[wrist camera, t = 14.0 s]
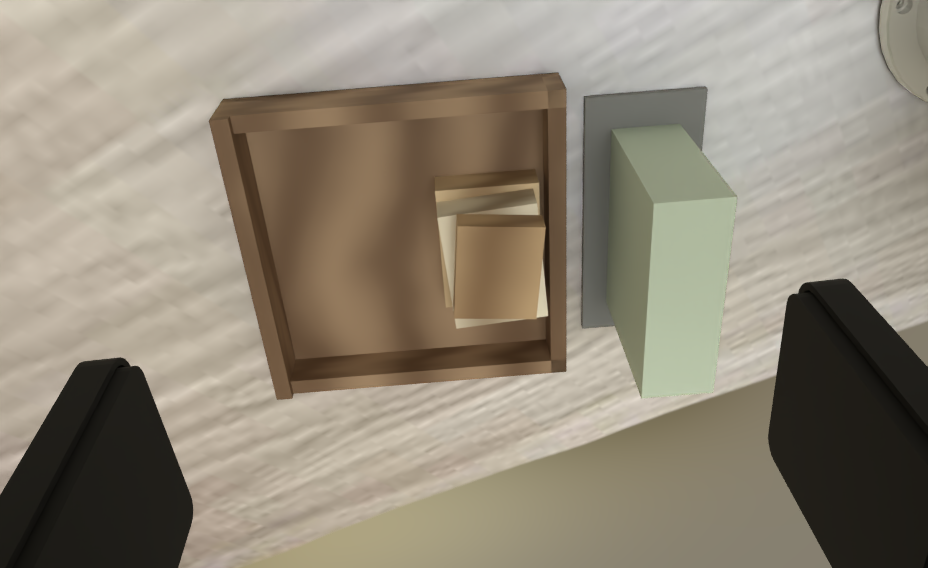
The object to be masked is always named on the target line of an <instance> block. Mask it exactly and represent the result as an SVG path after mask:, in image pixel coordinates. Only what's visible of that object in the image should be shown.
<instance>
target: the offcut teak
mask: <svg viewBox="0 0 928 568" xmlns="http://www.w3.org/2000/svg"><path fill="white" fill-rule="evenodd" d="M545 230H546V227H545V223H544V220H543V216H542V215H495V214H456V241H455V269H454V296H453V310H454V319H536V318H537V308H538V298H539V289H540V279H541V269H542V259H543V250H544V240H545Z"/></svg>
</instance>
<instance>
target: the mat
mask: <svg viewBox="0 0 928 568" xmlns="http://www.w3.org/2000/svg"><path fill="white" fill-rule="evenodd" d="M706 100H707V88H706V87H695V88H683V89H670V90H657V91H645V92H632V93H620V94H607V95H595V96H584V161H583V243H582V324H581V325H582V329H583V328H596V327H608V326H615V324H614V321H613V319H612V316H611V313H610V310H609V308H608V305H607V302H606V293H607V261H608V228H609V196H610V164H611V132H612V129H620V128H632V127H645V126H657V125H670V124H680V125H681V126H682V127H683V128H684V130H685V131H686V132H687V134H688V135H689V136H690V137H691V139H692V140H693V141H694V142H695V144H696V145H697V146H698V147H699V149H700V150H701V151H702V142H703V132H704V121H705V111H706Z"/></svg>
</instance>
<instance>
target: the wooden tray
mask: <svg viewBox="0 0 928 568" xmlns="http://www.w3.org/2000/svg"><path fill="white" fill-rule="evenodd" d="M209 123H210V127H211V131H212V135H213V140H214V144H215V148H216V152H217V156H218V160H219V164H220V168H221V172H222V176H223V181H224V185H225V189H226V193H227V197H228V201H229V205H230V209H231V213H232V217H233V222H234V226H235V230H236V234H237V238H238V242H239V246H240V250H241V254H242V258H243V262H244V267H245V271H246V275H247V279H248V283H249V287H250V291H251V295H252V299H253V303H254V308H255V312H256V316H257V320H258V324H259V328H260V332H261V336H262V340H263V344H264V348H265V353H266V357H267V361H268V365H269V369H270V373H271V377H272V381H273V385H274V389H275V394H276V398H277V400H279V399H292V398H293V394H294V393H307V392H319V391H331V390H344V389H356V388H369V387H381V386H393V385H406V384H418V383H431V382H443V381H455V380H468V379H480V378H493V377H505V376H517V375H530V374H542V373H554V372H566V87H565V85H564V83H563V81H562V79H561V77H560V75H559V73H547V74H535V75H522V76H510V77H497V78H484V79H472V80H459V81H447V82H434V83H422V84H409V85H396V86H384V87H371V88H359V89H346V90H334V91H321V92H309V93H296V94H283V95H271V96H258V97H246V98H233V99H223V100H222V102H221V103H220V105H219V106H218V108H217V109H216V111H215V112H214V114H213V115H212V117H211V118H210V120H209ZM528 169H535V171H536V174H537V177H538V180H539V198H540V215H542V216H543V220H544V223H545V227H546V230H545V240H544V250H543V268H544V278H545V288H546V299H547V309H548V316H545V317H538V318H536V319H523V320H516V321H509V322H502V323H494V324H487V325H480V326H473V327H466V328H458V329H456V323H455V319H454V311H453V307H447V308H446V303H445V293H444V282H443V271H442V261H441V250H440V239H439V229H438V219H437V208H436V197H435V177H441V176H453V175H466V174H478V173H491V172H503V171H516V170H528Z"/></svg>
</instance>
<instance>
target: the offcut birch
mask: <svg viewBox="0 0 928 568" xmlns="http://www.w3.org/2000/svg"><path fill="white" fill-rule="evenodd" d="M456 214H495V215H538V207H537V201H536V198H535V194H534V191H533V188H532V189H525V190H518V191H511V192H504V193H497V194H490V195H483V196H476V197H469V198H462V199H455V200H448V201H441V202H437V219H438V225H439V231H440V236H441V242H442V248H443V254H444V260H445V265H446V271H447V277H448V283H449V288H450V294H451V300H452V306H453V296H454V269H455V241H456ZM453 311H454V310H453ZM545 316H548V309H547V299H546V288H545V278H544V268H543V259H542V269H541V279H540V289H539V298H538V308H537V318H538V317H545ZM516 320H523V319H455V323H456V329H458V328H466V327H473V326H480V325H487V324H494V323H502V322H509V321H516Z"/></svg>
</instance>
